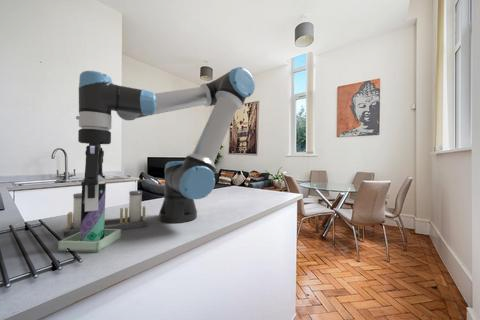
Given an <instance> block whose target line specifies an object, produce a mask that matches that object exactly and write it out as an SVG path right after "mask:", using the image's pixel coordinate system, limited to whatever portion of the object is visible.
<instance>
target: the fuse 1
mask: <svg viewBox="0 0 480 320" xmlns="http://www.w3.org/2000/svg"><path fill="white" fill-rule="evenodd" d="M72 196H73V197H72V198H73V207H72V208H73V209H72V211H73V212H72V223H73V229H81V201H82V192H77V193H73V195H72Z"/></svg>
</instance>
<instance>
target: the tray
mask: <svg viewBox="0 0 480 320" xmlns="http://www.w3.org/2000/svg"><path fill="white" fill-rule="evenodd" d="M121 237H122V230H121V229H104V238H103V239H101V240H100V241H98V242H89V241H80V232H78V233H76V234H74V235H72V236H66V237H65V238H63V239H61V240H59V241H58V246H57V249H58V250H57V251H58V252H66V251H67V248H71V249H72V250H73V251H75V252H74V253H99V252H101V251H103V250H104V249H105V248H107V247H108V246H110V245H111V244H113V243H114V242H115V243H116V241H118V240H119V239H121Z"/></svg>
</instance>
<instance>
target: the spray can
mask: <svg viewBox="0 0 480 320" xmlns="http://www.w3.org/2000/svg"><path fill="white" fill-rule="evenodd" d="M106 180H107V179H106V178H105V179H104V178H103V177H101V175H99V173H98V184H97V185H98V210H97V211H86V212H85V185H84V186H82V185H81V193H82V201H81V230H80V241H89V242H98V241H100V240H101V239H103V238H104V226H105V225H104V222H105V220H106V219H105V218H106V217H105V216H106V215H105V214H106V212H105V211H106V191H107V189H106V185H107V182H106ZM82 182H84V178H83V179H82Z"/></svg>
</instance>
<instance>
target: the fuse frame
mask: <svg viewBox="0 0 480 320" xmlns="http://www.w3.org/2000/svg"><path fill="white" fill-rule="evenodd" d="M128 208H129V207H124V208H123V207H121V208H119V209H120V210H119V211H120V212H119V217H118V218H110V219H108V218H107V219H105V222H104V229H121V231H122V230H129V229H139V228H146V227H147V225H148V223H147V219H146V210H147V209H146V206H142V208H141V222H135V223H129V209H128ZM66 218H67V221H66V224H67V225H66V228H65V230H64V231H63V238H64V237H65V238H67V237H70V236H72V235H74V234H76V233H78V232H80V230H81V229H73V212H72V211H71V212H70V211H69V212H68V213H67V217H66Z"/></svg>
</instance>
